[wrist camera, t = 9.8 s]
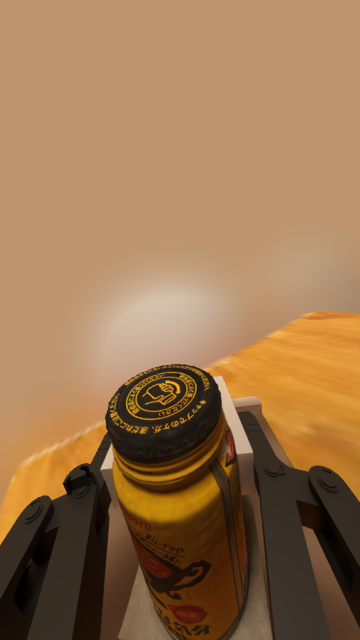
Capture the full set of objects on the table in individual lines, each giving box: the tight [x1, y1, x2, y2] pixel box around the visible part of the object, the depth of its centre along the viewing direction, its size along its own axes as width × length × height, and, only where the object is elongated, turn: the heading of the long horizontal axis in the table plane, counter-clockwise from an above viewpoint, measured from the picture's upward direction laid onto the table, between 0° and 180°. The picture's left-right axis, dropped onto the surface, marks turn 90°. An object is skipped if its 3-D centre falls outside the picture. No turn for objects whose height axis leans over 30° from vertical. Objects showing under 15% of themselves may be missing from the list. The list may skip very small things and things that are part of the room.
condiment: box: [105, 364, 272, 640], centre depth 10 cm, size 7×8×12 cm
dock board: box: [100, 396, 360, 640], centre depth 16 cm, size 16×18×2 cm
